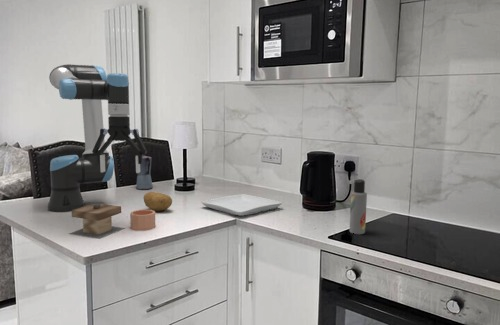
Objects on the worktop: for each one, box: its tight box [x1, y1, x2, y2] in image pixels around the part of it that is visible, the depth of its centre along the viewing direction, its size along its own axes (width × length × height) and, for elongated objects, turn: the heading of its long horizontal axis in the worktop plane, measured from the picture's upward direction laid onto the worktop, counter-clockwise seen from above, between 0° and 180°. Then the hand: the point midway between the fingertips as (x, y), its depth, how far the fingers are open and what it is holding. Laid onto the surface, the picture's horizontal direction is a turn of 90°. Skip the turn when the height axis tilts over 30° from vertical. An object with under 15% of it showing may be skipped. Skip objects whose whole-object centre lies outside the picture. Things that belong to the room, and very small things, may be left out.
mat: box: [68, 225, 126, 240], centre depth 156 cm, size 14×14×1 cm
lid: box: [71, 202, 122, 221], centre depth 154 cm, size 12×12×4 cm
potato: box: [143, 191, 173, 212], centre depth 187 cm, size 10×14×8 cm
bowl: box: [129, 209, 157, 231], centre depth 161 cm, size 9×9×6 cm
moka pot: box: [134, 154, 153, 190], centre depth 235 cm, size 10×15×20 cm, turn 40°
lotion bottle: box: [349, 178, 368, 235], centre depth 158 cm, size 6×6×20 cm
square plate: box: [200, 193, 283, 217], centre depth 194 cm, size 27×27×4 cm
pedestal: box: [82, 216, 113, 235], centre depth 155 cm, size 7×7×6 cm
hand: (120, 172), depth 161 cm, fingers open, 13 cm apart
